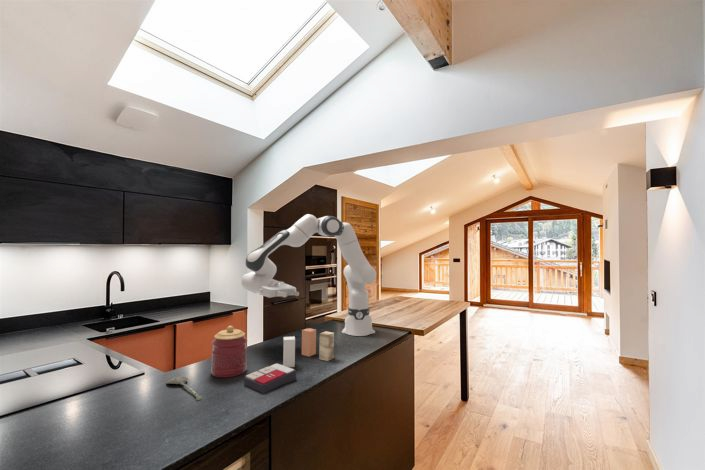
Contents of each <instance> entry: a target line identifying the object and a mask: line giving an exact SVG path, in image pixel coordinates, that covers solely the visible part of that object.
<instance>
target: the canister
mask: <svg viewBox="0 0 705 470" xmlns="http://www.w3.org/2000/svg"><path fill="white" fill-rule="evenodd" d="M245 336H246V333H245V332H244V331H243V330H241V329H237V328H234V326H233V325H228V326H227V327H226V329H222V330H220V331H218V332H216V334H215V335H214V336H213V337H214V340H212V341H211V345H212V350H211V367H210V371H211V375H212V376H213V377H216V378H220V379H221V378H232V377H233V378H234V377H237V376H241V375H243V374H244V373H245V372H246V371H247V365H248V364H247V352H248V351H247V350H248V347H247V342H248V338H247V337H245Z"/></svg>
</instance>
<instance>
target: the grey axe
mask: <svg viewBox="0 0 705 470" xmlns="http://www.w3.org/2000/svg"><path fill="white" fill-rule="evenodd" d="M188 380H189V378H188V377H186V376H183V375H181V376H175V377H172V378H171V379H168V380H167V382H165V383H166V384H167V385H168V384H169V385H170V384H173V385H174V384H175V385H182V386H184V387H185V388H186V389H188V390H189V391H190V392H191V393H192V394H193V395H194V397H195V401H199V400H202V399H203V396H201V395H199V394H198V393H197V392H196V391H195V390H194V389H193V388H191V387H190V386H189V385H188V384H186V382H187V381H188Z"/></svg>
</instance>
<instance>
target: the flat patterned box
mask: <svg viewBox="0 0 705 470" xmlns="http://www.w3.org/2000/svg"><path fill="white" fill-rule="evenodd" d="M296 380H297V370H296V369H294V368H293V367H286V366H283V364H280V363H274V364H272V365H269V366H266V367H263V368H260V369H259V370H257V371H254V372H251V373H249V374H247V375H245V376H244V377H243V385H244V386H246V387H248V388H249V389H252V390H255V391H257V392H260V393H261V394H265V393H268V392H270V391H273V390H274V389H277V388H279V387H281V386H284V385H285V384H288V383H291V382H294V381H296Z"/></svg>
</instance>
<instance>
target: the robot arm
mask: <svg viewBox="0 0 705 470" xmlns="http://www.w3.org/2000/svg"><path fill="white" fill-rule="evenodd" d="M315 234H317V235H319V236H321V237H335V239H336V241H337V244H338V247H339V251H340V253H341V255H342V258H343V260H344V261H345V262H346V263H347V265H345V267H344V268H343V276H344V278H345V280H346V284H347V289H348V309H347V311H348V312H347V314H348V315H347V316H346V317H345V319H344V328H343V329H342V330H341V333H342V334H344V335H345V334H346V335H349V336H355V337H356V336H357V337H364V336H368V335H371V334H372V335H373V334H376V330H374V329H373V319H372V317H371V316H370V307H369V306H370V305H369V302H370V301H369V300H370V299H369V296H370V295H369V292H368V290H367V288H366V285H369V284H372V283H374V282H375V280H376V278H377V271H376V269H375V268H374V267H373V266H372V265H371V264H370V263H369V262H370V261H368V259H367V258H366V255H364V252H363V250H362V248H361V245H360V243H359V240H358V236H357V234H356V232H355V230H354V228H353V227H352V225H351V223H349V222H343V221H340V219H339V218H337V217H336V216H333V215H324V216H322V217H318V218H317V217H316V216H315V215H313V214H310V213H307V214H304V215H303V216H302V217H300V218H299V219H298V220H297V221H295V222H294V224H292V225H291V226H290V227H289V228H287V229H282V230H281V231H278V232H276V234H275V235H273V236H272V237H271V238H269V239H268V240H266V241H265V242H264V243H263V244H262V245H260V246H259V247H257V248H255V249H254V250H251V252H249V253H248V254H247V256H246V258H245V266H246V268H247V269H249V270H250V271H249V272H248V273H245V274H243V275H242V278H241V285H242V287H243V289H245V290H246V291H247V292H250V293H254V294H259V295H261V296H263V297H266V298H269V299H270V298H275V297H281V298H287V297H288V296H295V297H298V296H300V292H299V291H297V287H295V286H293V285H290V284H288V283H285V281H282V280H277V279H274V278H275V276H276V275H277V271H278V269H277V268H278V267H277V264H275V262H273V261H272V260H271V259H270V258H269V256H270V254H272V253H273V252H274V251H276V250H277V249H278V248H279V247H281V246H290V247H292V248H299V247H301V246H303V245H305V244H306V243H307V241H309V240H310V238H312V236H313V235H315Z"/></svg>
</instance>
